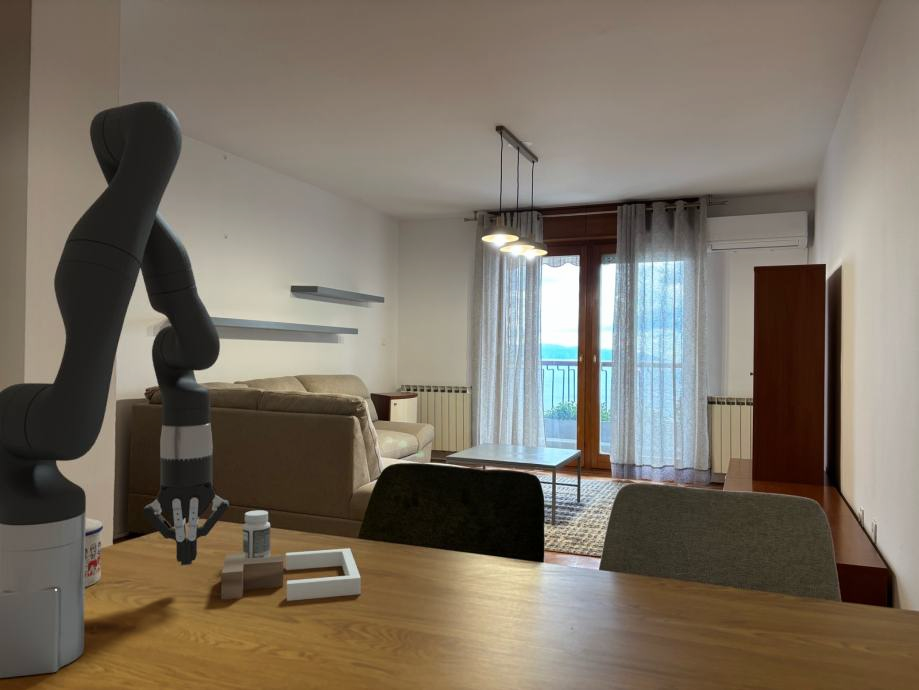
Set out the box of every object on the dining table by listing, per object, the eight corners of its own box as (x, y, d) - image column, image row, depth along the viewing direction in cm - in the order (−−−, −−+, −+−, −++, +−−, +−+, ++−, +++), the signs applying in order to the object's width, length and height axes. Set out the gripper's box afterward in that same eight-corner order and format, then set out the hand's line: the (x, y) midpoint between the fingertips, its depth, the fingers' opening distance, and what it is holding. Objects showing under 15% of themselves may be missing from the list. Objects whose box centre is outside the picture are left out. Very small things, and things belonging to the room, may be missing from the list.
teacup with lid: (79, 594, 102) (80, 517, 102) (22, 592, 102) (23, 516, 103) (124, 568, 114) (124, 500, 114) (73, 567, 114) (73, 499, 115)
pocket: (360, 594, 102) (360, 577, 102) (286, 600, 100) (287, 584, 100) (349, 562, 118) (349, 548, 118) (285, 567, 115) (285, 552, 115)
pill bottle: (274, 555, 122) (274, 510, 122) (264, 564, 117) (264, 516, 117) (249, 554, 122) (249, 509, 122) (238, 563, 117) (238, 515, 117)
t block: (283, 594, 102) (283, 568, 102) (221, 599, 100) (221, 573, 100) (282, 573, 112) (283, 549, 112) (226, 577, 110) (226, 553, 110)
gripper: (135, 459, 98) (136, 575, 99) (230, 454, 102) (230, 567, 102) (144, 450, 106) (145, 559, 106) (232, 447, 109) (232, 552, 109)
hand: (187, 563), depth 104 cm, fingers closed
